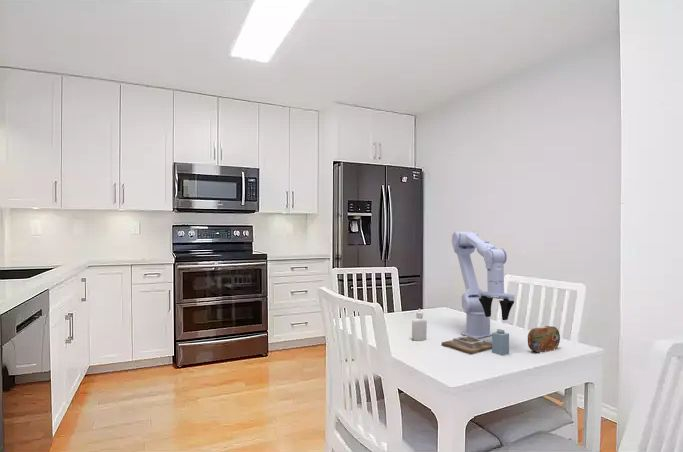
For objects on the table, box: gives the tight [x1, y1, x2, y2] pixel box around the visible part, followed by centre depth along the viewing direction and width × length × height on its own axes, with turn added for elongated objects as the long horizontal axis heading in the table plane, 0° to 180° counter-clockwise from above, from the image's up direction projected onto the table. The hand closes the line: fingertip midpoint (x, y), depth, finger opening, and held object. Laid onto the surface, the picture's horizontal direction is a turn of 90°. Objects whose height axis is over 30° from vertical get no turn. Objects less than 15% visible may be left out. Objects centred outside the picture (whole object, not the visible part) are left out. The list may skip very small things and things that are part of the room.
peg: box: [491, 328, 510, 356], centre depth 141 cm, size 4×4×8 cm
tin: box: [527, 325, 561, 354], centre depth 145 cm, size 15×3×8 cm, turn 117°
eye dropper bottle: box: [411, 308, 428, 342], centre depth 156 cm, size 4×6×12 cm
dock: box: [441, 335, 492, 355], centre depth 148 cm, size 15×13×2 cm
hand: (496, 318), depth 148 cm, fingers open, 7 cm apart
